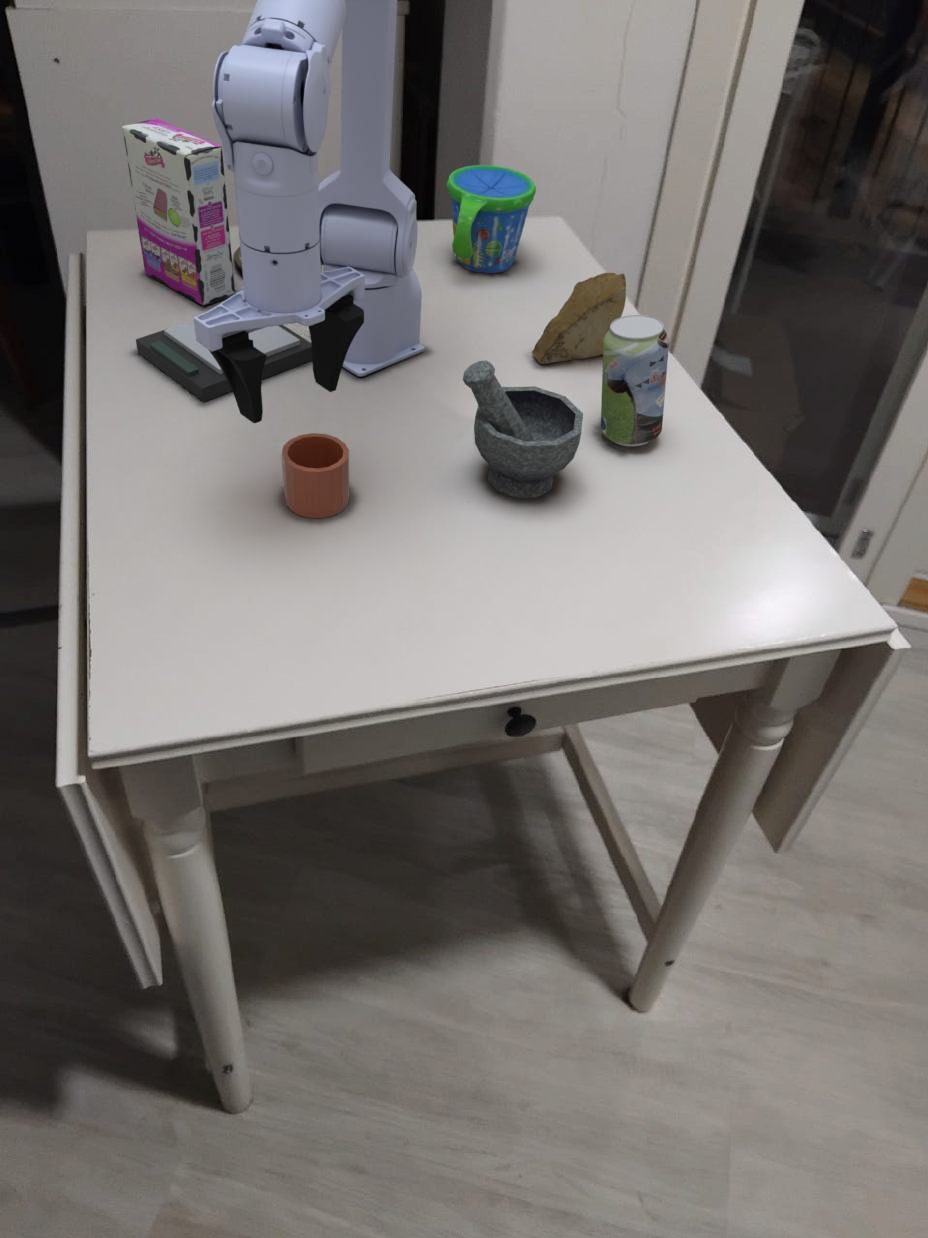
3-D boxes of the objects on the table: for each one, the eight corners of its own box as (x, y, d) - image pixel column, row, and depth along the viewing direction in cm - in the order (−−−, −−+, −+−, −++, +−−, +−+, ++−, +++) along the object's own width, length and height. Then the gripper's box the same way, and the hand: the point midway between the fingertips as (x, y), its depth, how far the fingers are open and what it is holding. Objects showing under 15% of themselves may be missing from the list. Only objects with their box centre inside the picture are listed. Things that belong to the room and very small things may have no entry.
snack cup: (489, 296, 114) (497, 211, 107) (416, 271, 118) (420, 187, 110) (548, 254, 124) (560, 174, 117) (479, 231, 128) (486, 152, 120)
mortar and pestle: (559, 447, 93) (579, 334, 84) (583, 506, 86) (608, 391, 78) (446, 451, 91) (455, 336, 82) (462, 512, 84) (473, 394, 76)
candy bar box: (238, 294, 110) (224, 144, 98) (203, 308, 107) (185, 154, 95) (177, 261, 114) (158, 114, 103) (142, 273, 111) (118, 123, 100)
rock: (533, 359, 100) (629, 354, 99) (531, 274, 99) (627, 269, 98) (530, 372, 110) (616, 367, 110) (528, 296, 109) (614, 291, 109)
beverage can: (656, 459, 92) (686, 347, 84) (582, 445, 93) (604, 333, 85) (660, 425, 97) (688, 315, 88) (589, 412, 98) (611, 302, 89)
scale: (248, 315, 106) (247, 296, 105) (315, 358, 101) (315, 339, 99) (137, 352, 99) (134, 333, 97) (203, 402, 93) (201, 382, 92)
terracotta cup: (322, 472, 87) (320, 425, 83) (361, 501, 84) (362, 454, 81) (272, 495, 84) (268, 448, 80) (312, 526, 81) (310, 479, 78)
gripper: (227, 284, 62) (244, 455, 72) (392, 232, 70) (387, 393, 80) (168, 246, 66) (192, 414, 75) (331, 201, 74) (334, 358, 83)
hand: (289, 401), depth 78 cm, fingers open, 7 cm apart
